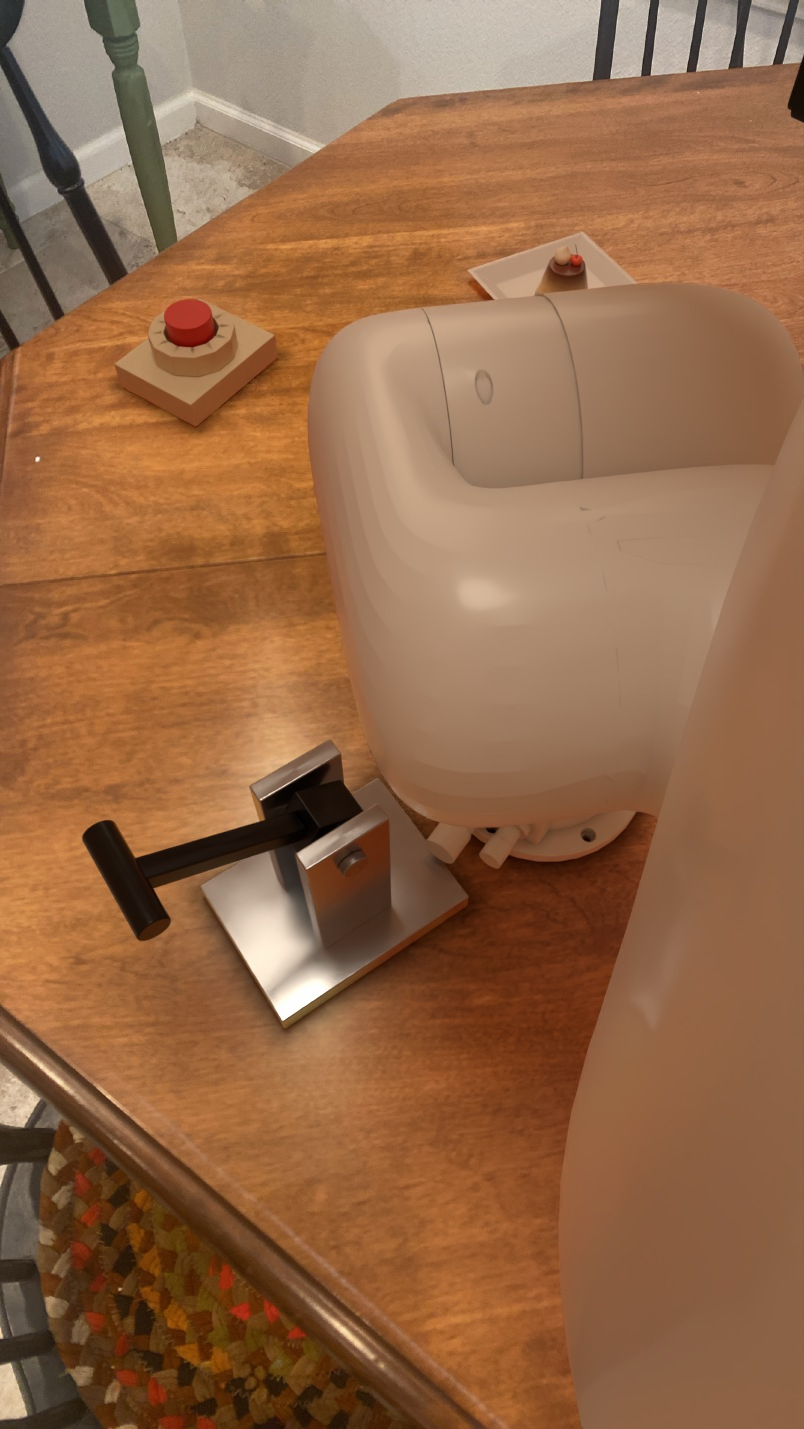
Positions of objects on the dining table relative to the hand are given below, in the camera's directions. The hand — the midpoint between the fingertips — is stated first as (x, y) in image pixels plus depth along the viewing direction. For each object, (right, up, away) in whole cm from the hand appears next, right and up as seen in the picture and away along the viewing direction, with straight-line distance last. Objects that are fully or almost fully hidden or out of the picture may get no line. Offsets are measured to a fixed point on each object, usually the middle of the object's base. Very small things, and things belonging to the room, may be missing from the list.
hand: (681, 39), depth 27 cm
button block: (-24, +8, +49) cm, 56 cm away
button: (-24, +10, +46) cm, 53 cm away
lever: (-16, -26, +15) cm, 33 cm away
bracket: (-12, -30, +27) cm, 42 cm away
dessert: (+6, +16, +54) cm, 57 cm away
